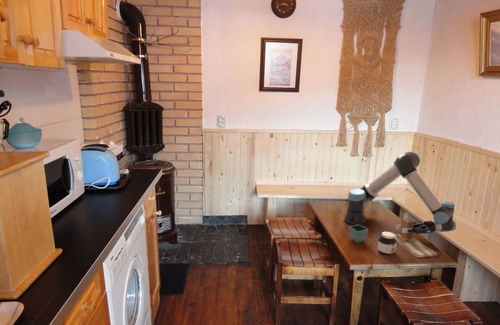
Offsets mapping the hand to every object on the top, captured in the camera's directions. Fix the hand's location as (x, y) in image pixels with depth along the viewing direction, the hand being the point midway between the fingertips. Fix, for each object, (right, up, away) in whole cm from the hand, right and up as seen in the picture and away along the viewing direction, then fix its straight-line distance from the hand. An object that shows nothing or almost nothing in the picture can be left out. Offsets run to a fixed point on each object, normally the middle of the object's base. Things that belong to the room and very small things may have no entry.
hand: (399, 228), depth 210 cm
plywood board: (+6, -10, -3) cm, 12 cm away
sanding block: (+5, -7, +2) cm, 9 cm away
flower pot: (-26, -8, +3) cm, 27 cm away
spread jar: (-13, -11, -10) cm, 20 cm away
